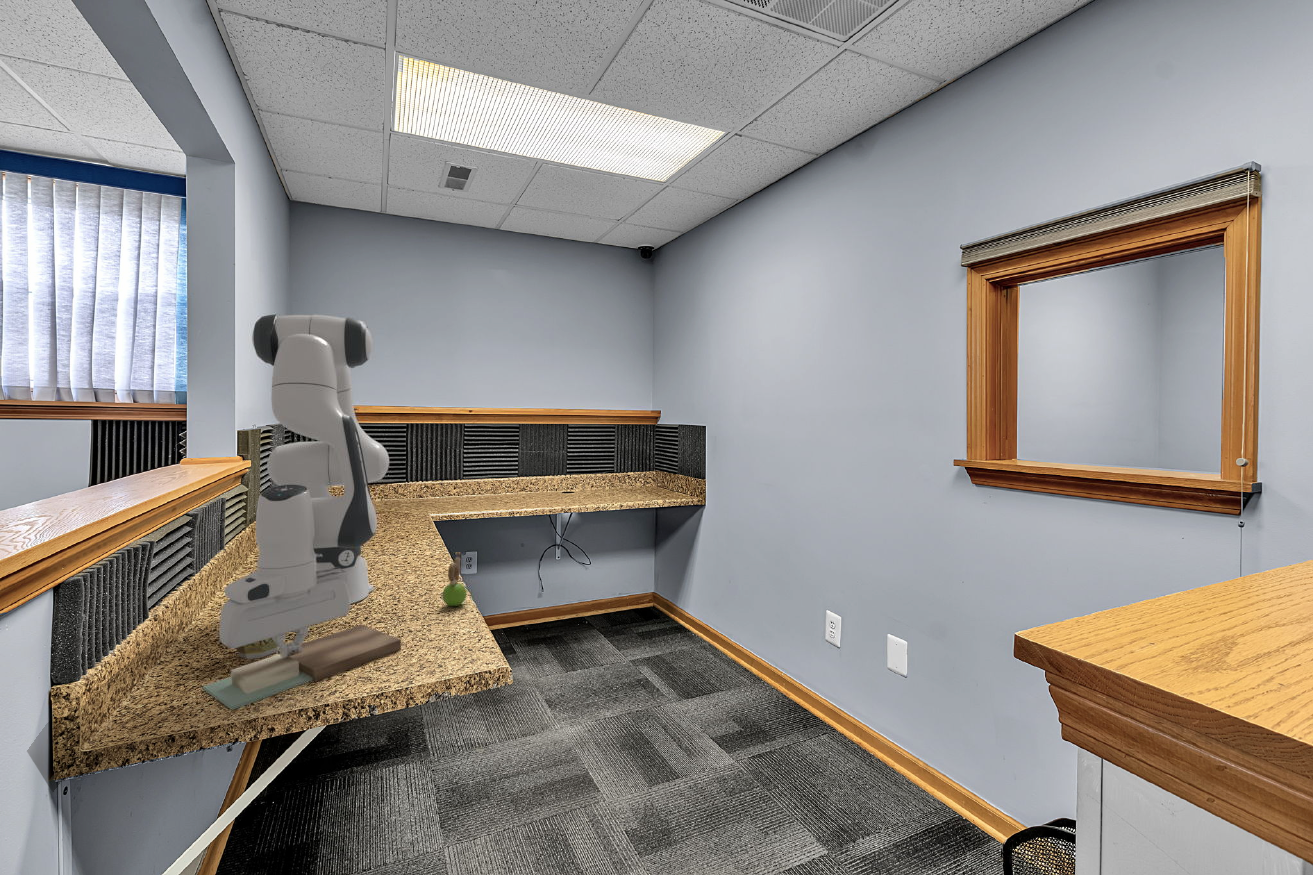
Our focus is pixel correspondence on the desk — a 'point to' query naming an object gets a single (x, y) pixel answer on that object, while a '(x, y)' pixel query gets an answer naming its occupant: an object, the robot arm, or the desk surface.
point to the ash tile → (264, 673)
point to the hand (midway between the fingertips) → (291, 654)
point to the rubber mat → (238, 698)
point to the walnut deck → (344, 651)
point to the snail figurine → (454, 585)
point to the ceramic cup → (258, 649)
